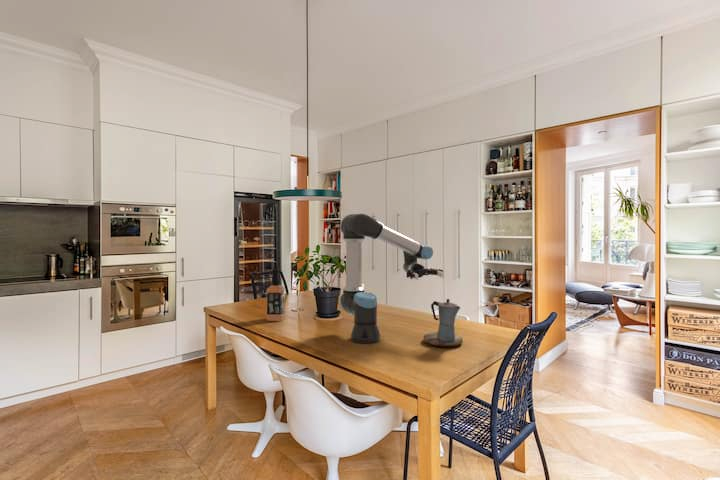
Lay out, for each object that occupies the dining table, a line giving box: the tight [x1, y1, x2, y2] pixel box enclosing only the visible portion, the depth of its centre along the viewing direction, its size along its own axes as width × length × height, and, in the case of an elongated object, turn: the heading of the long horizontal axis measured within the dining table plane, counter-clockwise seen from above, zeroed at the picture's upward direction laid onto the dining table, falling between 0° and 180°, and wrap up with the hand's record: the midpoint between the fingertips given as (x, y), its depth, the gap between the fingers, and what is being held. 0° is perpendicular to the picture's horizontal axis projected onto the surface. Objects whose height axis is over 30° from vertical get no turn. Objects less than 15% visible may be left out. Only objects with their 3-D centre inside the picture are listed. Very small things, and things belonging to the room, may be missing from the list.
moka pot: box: [430, 298, 461, 342], centre depth 183 cm, size 10×15×20 cm, turn 56°
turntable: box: [423, 331, 463, 347], centre depth 187 cm, size 19×19×1 cm
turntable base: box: [430, 344, 457, 348], centre depth 187 cm, size 14×14×1 cm
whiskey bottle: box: [265, 268, 286, 322], centre depth 235 cm, size 10×10×32 cm
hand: (430, 276), depth 190 cm, fingers open, 13 cm apart
